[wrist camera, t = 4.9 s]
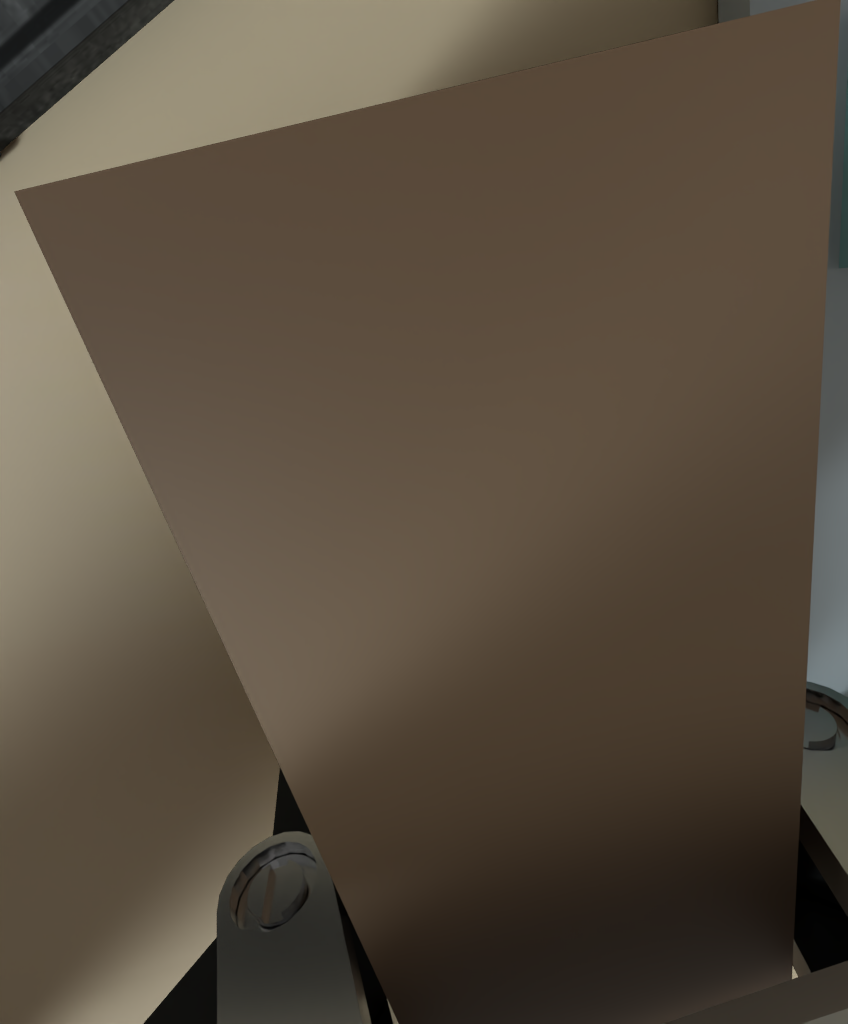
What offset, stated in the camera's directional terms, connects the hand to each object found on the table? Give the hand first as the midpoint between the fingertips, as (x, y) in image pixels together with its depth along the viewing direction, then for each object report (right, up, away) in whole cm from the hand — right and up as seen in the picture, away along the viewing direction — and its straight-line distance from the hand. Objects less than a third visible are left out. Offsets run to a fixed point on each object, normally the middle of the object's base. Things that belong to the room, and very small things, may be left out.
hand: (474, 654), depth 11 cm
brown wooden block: (0, +1, +1) cm, 1 cm away
